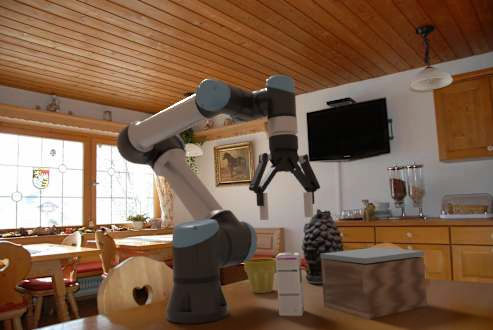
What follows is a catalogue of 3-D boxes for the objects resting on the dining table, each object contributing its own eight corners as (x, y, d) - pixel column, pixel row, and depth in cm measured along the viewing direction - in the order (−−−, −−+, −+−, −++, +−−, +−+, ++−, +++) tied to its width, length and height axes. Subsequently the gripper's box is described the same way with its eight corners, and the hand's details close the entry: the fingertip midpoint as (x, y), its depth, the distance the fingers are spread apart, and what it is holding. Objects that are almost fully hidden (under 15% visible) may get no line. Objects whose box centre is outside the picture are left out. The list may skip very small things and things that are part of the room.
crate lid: (365, 263, 93) (364, 258, 93) (320, 258, 107) (320, 253, 107) (424, 255, 103) (424, 251, 103) (376, 251, 117) (376, 247, 117)
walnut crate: (369, 319, 92) (365, 265, 93) (323, 305, 106) (321, 259, 107) (427, 306, 102) (423, 257, 103) (379, 295, 115) (376, 252, 117)
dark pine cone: (306, 275, 155) (303, 209, 157) (347, 275, 151) (342, 208, 154) (299, 285, 135) (295, 210, 137) (346, 286, 131) (341, 208, 134)
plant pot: (240, 294, 125) (239, 261, 126) (251, 287, 135) (250, 257, 136) (273, 295, 122) (271, 261, 123) (281, 288, 131) (280, 257, 132)
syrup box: (302, 316, 96) (299, 254, 98) (278, 316, 98) (275, 254, 99) (304, 310, 102) (301, 251, 104) (280, 310, 103) (278, 252, 105)
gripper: (312, 140, 114) (317, 216, 111) (233, 135, 102) (236, 220, 100) (330, 135, 107) (335, 216, 105) (247, 130, 95) (251, 220, 93)
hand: (287, 218), depth 102 cm, fingers open, 13 cm apart
